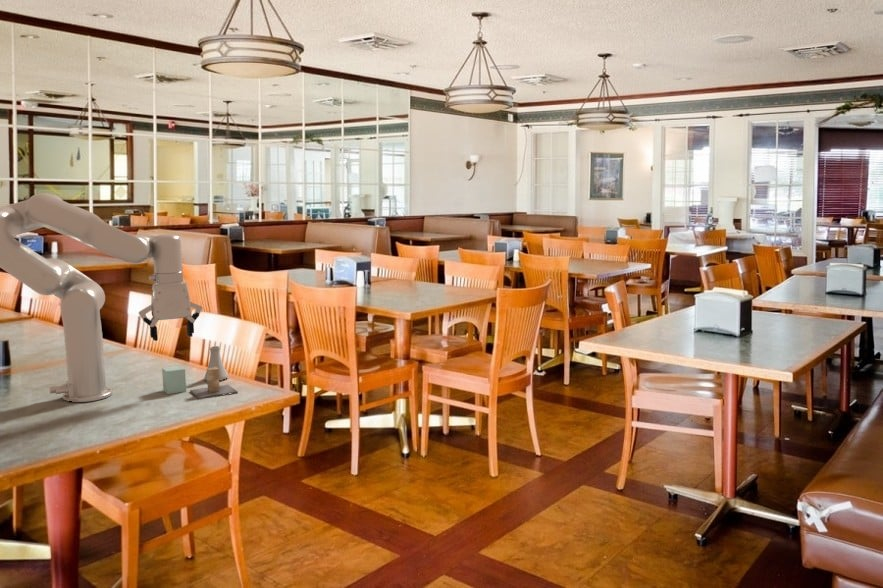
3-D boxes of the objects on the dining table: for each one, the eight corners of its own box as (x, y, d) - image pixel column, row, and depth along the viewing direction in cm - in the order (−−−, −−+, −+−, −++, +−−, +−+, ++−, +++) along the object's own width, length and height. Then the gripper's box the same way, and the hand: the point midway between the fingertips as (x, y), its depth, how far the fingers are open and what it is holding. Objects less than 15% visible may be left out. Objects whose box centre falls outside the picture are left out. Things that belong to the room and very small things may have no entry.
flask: (221, 382, 228) (219, 350, 227) (199, 381, 230) (197, 349, 228) (232, 376, 235) (231, 345, 234) (211, 375, 237) (209, 344, 235)
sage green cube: (167, 394, 216) (166, 371, 215) (163, 390, 220) (162, 367, 219) (186, 391, 218) (185, 369, 218) (181, 387, 223) (180, 365, 222)
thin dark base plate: (198, 399, 211) (197, 374, 210) (190, 391, 218) (188, 367, 217) (237, 393, 217) (236, 369, 216) (228, 386, 224) (227, 363, 223)
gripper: (139, 282, 207) (143, 343, 209) (203, 277, 216) (206, 336, 219) (133, 279, 213) (138, 339, 216) (196, 275, 222) (199, 332, 225)
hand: (172, 337), depth 217 cm, fingers open, 9 cm apart
